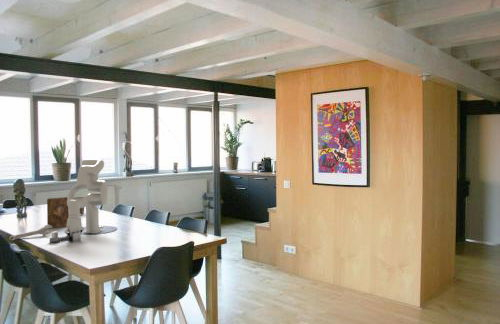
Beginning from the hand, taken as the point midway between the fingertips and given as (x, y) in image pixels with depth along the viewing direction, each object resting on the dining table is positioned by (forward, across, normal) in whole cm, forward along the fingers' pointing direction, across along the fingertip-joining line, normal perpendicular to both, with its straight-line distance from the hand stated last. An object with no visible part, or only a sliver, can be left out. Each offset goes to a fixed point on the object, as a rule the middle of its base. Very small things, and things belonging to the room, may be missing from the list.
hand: (74, 240), depth 309 cm
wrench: (+1, +11, -38) cm, 40 cm away
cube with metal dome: (+1, 0, 0) cm, 1 cm away
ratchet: (+1, +4, -9) cm, 10 cm away
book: (+1, -23, -57) cm, 61 cm away
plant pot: (+1, -72, -102) cm, 125 cm away
